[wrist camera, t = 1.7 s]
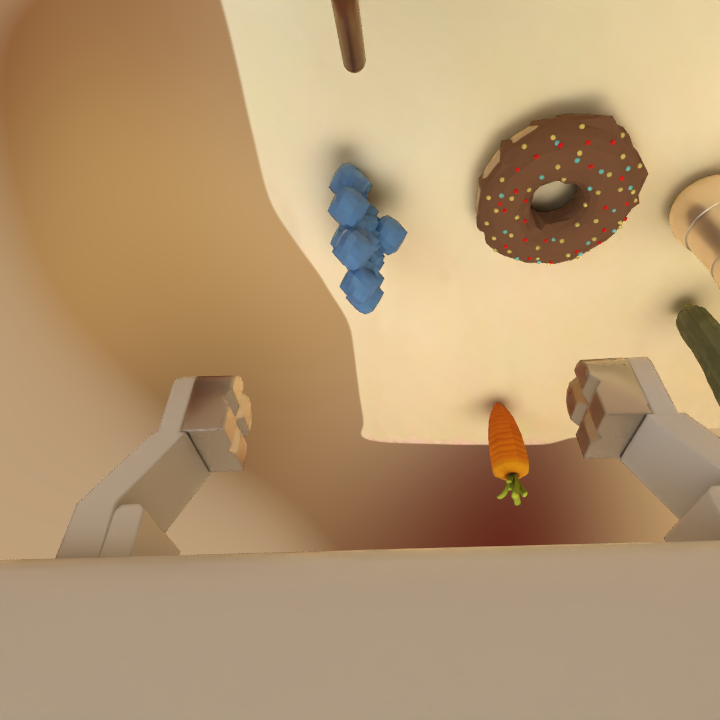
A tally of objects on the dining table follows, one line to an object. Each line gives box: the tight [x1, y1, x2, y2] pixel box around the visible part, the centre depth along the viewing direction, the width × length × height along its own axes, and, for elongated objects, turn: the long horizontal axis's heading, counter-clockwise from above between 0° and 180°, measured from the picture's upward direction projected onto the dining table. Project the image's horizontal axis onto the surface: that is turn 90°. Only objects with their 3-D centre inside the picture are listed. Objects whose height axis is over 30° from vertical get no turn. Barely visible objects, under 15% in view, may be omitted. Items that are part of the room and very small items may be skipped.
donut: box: [476, 114, 648, 265], centre depth 45 cm, size 14×14×5 cm
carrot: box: [488, 402, 529, 505], centre depth 68 cm, size 5×5×15 cm
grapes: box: [328, 163, 407, 314], centre depth 44 cm, size 12×7×12 cm, turn 10°
